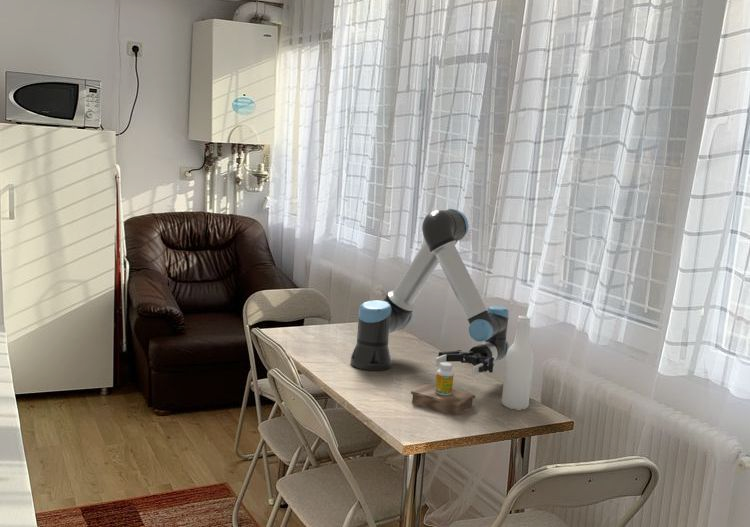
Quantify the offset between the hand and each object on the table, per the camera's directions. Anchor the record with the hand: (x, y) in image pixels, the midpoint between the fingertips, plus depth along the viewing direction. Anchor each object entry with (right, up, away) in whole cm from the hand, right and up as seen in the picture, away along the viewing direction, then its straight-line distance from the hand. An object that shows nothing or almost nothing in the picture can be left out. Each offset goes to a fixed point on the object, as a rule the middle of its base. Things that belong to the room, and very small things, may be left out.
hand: (454, 366), depth 256 cm
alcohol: (+20, -13, +2) cm, 24 cm away
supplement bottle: (-4, -8, -4) cm, 10 cm away
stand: (-4, -12, -3) cm, 13 cm away
